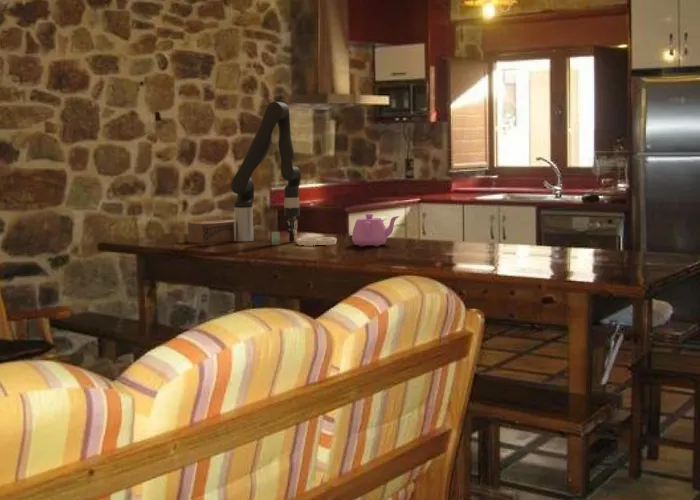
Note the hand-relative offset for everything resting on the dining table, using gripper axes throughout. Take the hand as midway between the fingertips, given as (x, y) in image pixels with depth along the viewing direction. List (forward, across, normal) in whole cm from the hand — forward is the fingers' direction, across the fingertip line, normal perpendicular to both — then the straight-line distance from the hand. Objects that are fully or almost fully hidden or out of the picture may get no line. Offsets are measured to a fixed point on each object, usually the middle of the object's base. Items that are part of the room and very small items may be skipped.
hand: (292, 240), depth 469 cm
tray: (+1, +8, +14) cm, 16 cm away
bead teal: (+1, +10, -6) cm, 12 cm away
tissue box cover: (+1, -8, -42) cm, 43 cm away
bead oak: (+1, 0, 0) cm, 1 cm away
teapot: (+1, +14, +42) cm, 44 cm away
